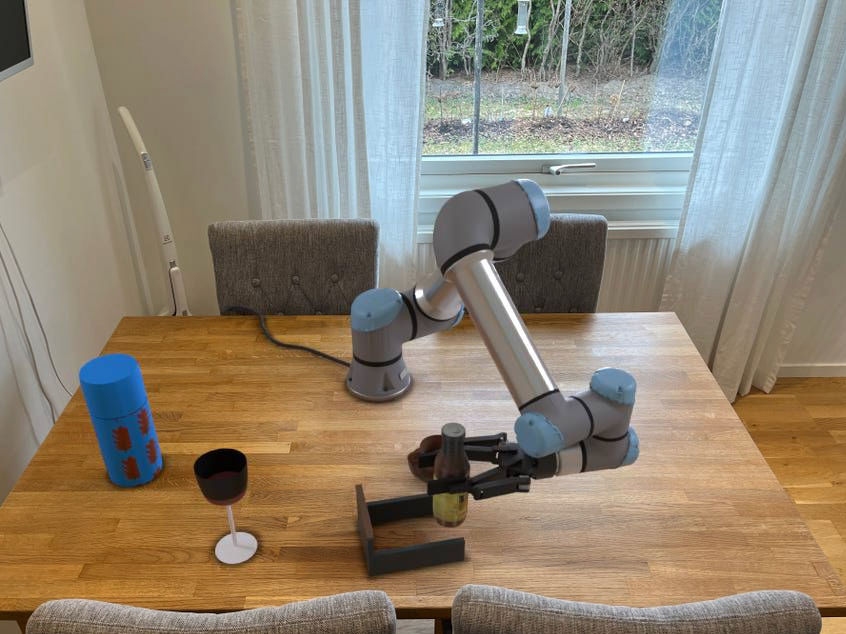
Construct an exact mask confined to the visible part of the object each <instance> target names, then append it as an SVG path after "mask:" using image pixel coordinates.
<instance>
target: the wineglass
mask: <svg viewBox="0 0 846 634" xmlns="http://www.w3.org/2000/svg"><path fill="white" fill-rule="evenodd" d="M248 468H249V467H248V459H247V456H246V454H245V453H243V452H242V451H241V450H238V449H236V448H231V447H230V448H228V447H223V448H215V449H212V450H208V451H207V452H205V453H203V454H201V455H200V456H199V457H197V459H196V460H195V461H194V463H193V473H194V476H195V477H194V478H195V479H196V482H197V485H198V487H199V490H200V492H201V493H202V495H203V497H204V499H205V500H206V501H207V502H209V503H210V504H212V505H213V506H218V507H226V513H227V517H228V523H229V528H230V534H227V535H225V536H224V537H222V538H221V539H219V541H218V542H217V543H216V546H215V548H214V551H215V553H214V554H215V557H216V558H217V559H218V560H219V561H221V562H222V563H225V564H229V565H235V564H240V563H243V562H245V561H248V560H249V559H250V558H251V557H253V555H255V553H256V552H257V549H258V541H257V539H256V537H255V536H254V535H253V534H252V533H248V532H245V531H236V526H235V521H234V517H233V511H232V505H235V504H237V503H238V502H240V501H241V500H242V499H243V498H244V496H245V495H246V493H247V490H248V483H249V481H248V480H249V469H248Z"/></svg>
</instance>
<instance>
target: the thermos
mask: <svg viewBox="0 0 846 634" xmlns="http://www.w3.org/2000/svg"><path fill="white" fill-rule="evenodd" d="M78 378H79V379H78V380H79V385H80V387H81V391H82V395H83V397H84V401H85V404H86V407H87V410H88V414H89V417H90V421H91V423H92V427H93V430H94V433H95V438H96V440H97V442H98V443H97V444H98V446H99V447H98V448H99V450H100V453H101V456H102V460H103V462H104V465H105V468H106V470H107V474H108V476H109V478H110V481H111V482H112V483H114V484H115V485H116V486H119V487H124V488H125V487H126V488H127V487H130V488H131V487H137V486H141V485H144V484H146V483H148V482H150V481H152V480H153V479H154V478H156V477H157V476H158V475H159V474H160V472H161V471H162V468H163V460H162V453H161V448H160V444H159V440H158V436H157V431H156V428H155V424H154V420H153V416H152V412H151V407H150V403H149V399H148V395H147V391H146V387H145V383H144V378H143V375H142V371H141V367H140V365H139V363H138V361H137V359H136V358H135V357H133V356H132V355H131V354H126V353H110V354H104V355H101V356H98V357H94V358H92V359H90V360H89V361H87V362H86V363H84V365H82V366H81V368H80V369H79V372H78Z"/></svg>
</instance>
